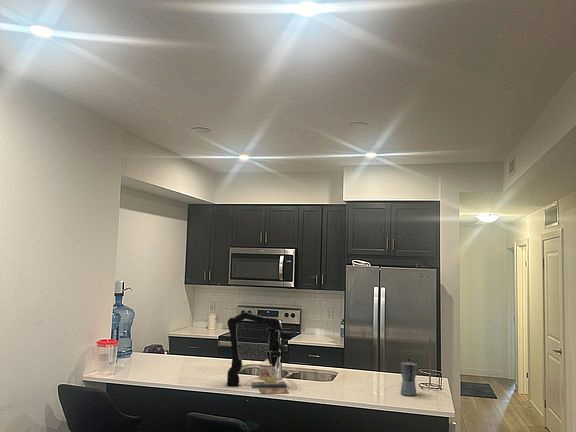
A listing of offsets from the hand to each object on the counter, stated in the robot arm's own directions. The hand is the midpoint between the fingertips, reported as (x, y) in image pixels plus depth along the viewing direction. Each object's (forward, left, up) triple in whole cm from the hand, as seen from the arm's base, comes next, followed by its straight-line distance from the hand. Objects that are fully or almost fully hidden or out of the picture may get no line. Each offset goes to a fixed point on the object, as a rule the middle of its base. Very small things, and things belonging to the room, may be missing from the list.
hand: (272, 365), depth 320 cm
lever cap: (-1, -1, -10) cm, 10 cm away
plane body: (-2, -1, -12) cm, 12 cm away
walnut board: (-1, -13, -12) cm, 18 cm away
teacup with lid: (+1, +20, -12) cm, 23 cm away
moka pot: (+76, -25, -12) cm, 81 cm away
